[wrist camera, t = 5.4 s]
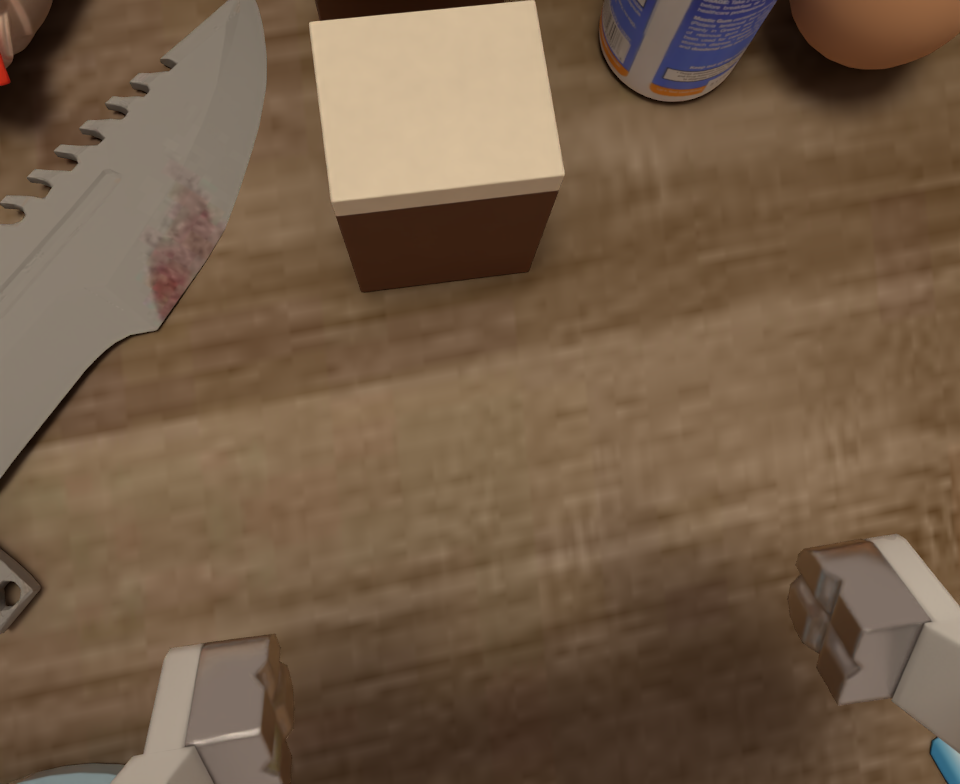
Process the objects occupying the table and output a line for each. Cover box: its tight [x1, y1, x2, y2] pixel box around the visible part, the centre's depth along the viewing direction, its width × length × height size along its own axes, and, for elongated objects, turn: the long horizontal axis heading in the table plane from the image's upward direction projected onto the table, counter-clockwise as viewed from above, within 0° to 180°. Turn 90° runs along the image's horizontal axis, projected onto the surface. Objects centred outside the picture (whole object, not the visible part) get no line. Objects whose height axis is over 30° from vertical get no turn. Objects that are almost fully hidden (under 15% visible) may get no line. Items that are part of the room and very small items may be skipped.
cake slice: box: [309, 0, 565, 292], centre depth 24 cm, size 6×5×8 cm
